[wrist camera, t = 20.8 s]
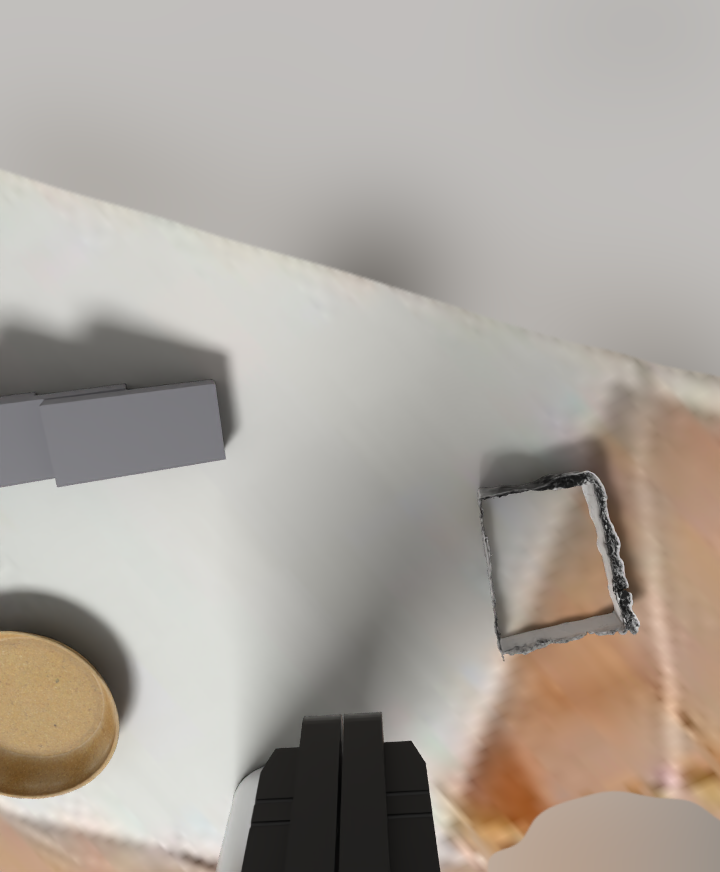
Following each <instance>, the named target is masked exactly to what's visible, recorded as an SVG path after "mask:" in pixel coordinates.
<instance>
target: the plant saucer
mask: <svg viewBox="0 0 720 872" xmlns="http://www.w3.org/2000/svg"><path fill="white" fill-rule="evenodd" d="M118 737H119V716H118V711H117V707H116V704H115V701H114V698H113V696H112V694H111V691H110V689H109V687H108V686H107V684H106V682H105V680H104V679H103V677H102V676H101V675H100V673H99V672H98V671H97V670H96V668H95V667H94V666H93V665H92V664H91V663H90V662H89V661H88V660H87V659H86V658H85V657H83V656H82V655H81V654H80V653H78V652H77V651H75V650H74V649H72V648H70V647H69V646H67V645H65V644H63V643H61V642H59V641H56V640H54V639H51V638H48V637H45V636H41V635H37V634H33V633H27V632H20V631H0V795H4V796H8V797H14V798H28V799H41V798H48V797H54V796H59V795H63V794H66V793H69V792H72V791H74V790H76V789H78V788H81V787H82V786H84V785H86V784H87V783H89V782H90V781H92V780H93V779H94V778H95V777H96V776H97V775H99V774H100V773H101V772H102V771H103V769H104V768H105V767H106V765H107V764H108V763H109V761H110V759H111V758H112V756H113V753H114V751H115V749H116V746H117V742H118Z"/></svg>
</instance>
